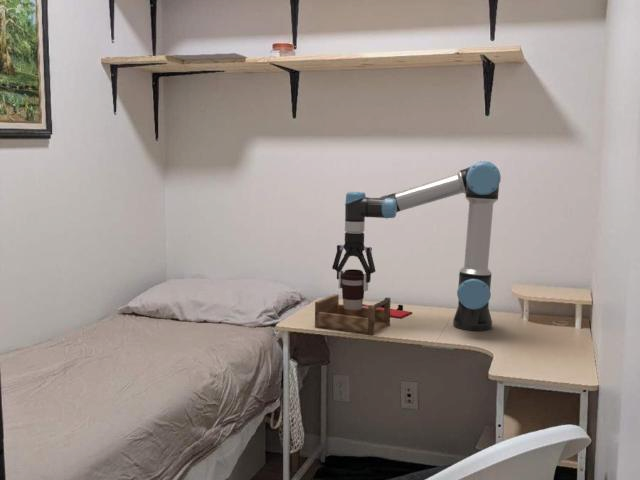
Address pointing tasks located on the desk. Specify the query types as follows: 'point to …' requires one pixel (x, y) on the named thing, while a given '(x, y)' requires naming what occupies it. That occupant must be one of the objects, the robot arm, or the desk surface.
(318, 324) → the wooden crate
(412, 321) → the desk surface
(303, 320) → the desk surface
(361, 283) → the coffee cup
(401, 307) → the red board with handle
